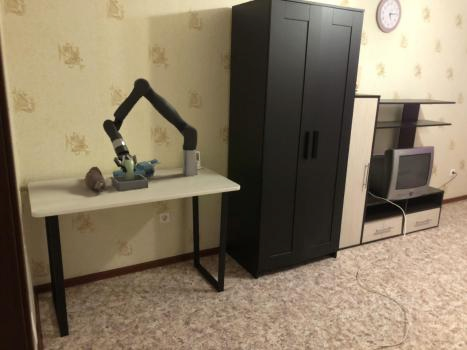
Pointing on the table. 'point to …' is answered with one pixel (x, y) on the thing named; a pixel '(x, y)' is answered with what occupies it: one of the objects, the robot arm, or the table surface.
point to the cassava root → (95, 179)
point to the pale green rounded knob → (129, 169)
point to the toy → (141, 169)
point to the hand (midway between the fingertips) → (130, 171)
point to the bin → (129, 183)
